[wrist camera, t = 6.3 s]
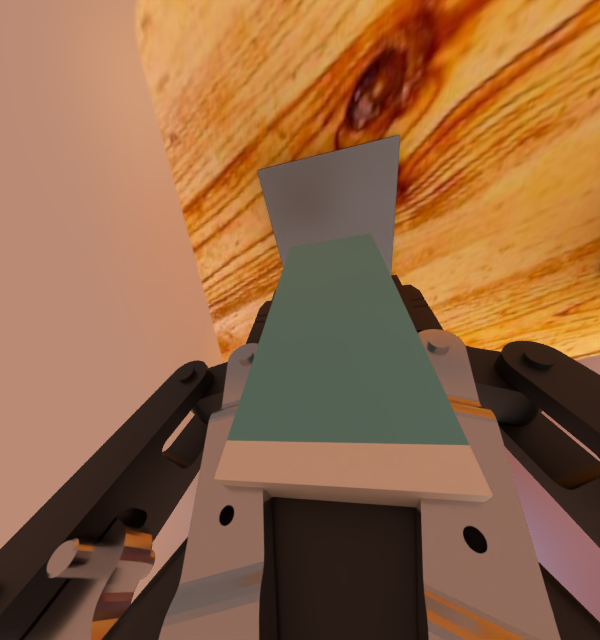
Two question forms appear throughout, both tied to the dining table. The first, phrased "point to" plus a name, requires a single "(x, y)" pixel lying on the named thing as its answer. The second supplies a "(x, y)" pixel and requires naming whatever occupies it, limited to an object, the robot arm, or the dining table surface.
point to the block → (346, 393)
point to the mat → (335, 196)
